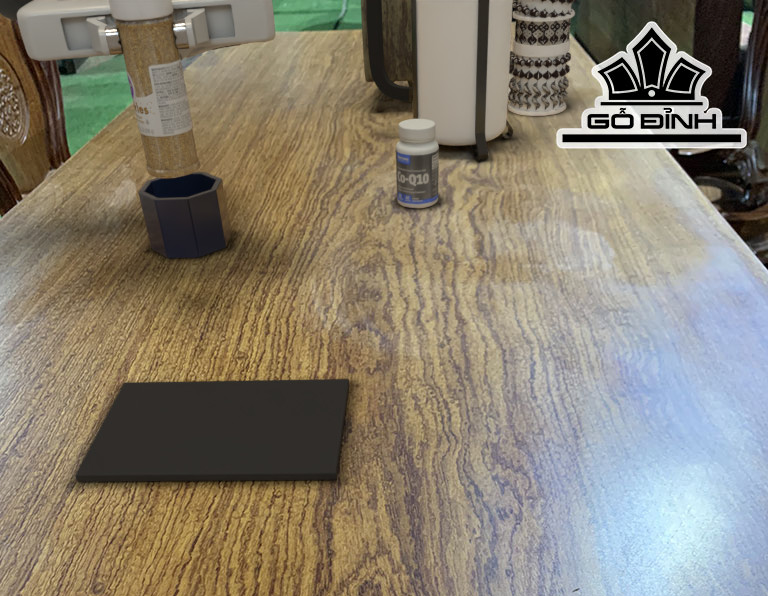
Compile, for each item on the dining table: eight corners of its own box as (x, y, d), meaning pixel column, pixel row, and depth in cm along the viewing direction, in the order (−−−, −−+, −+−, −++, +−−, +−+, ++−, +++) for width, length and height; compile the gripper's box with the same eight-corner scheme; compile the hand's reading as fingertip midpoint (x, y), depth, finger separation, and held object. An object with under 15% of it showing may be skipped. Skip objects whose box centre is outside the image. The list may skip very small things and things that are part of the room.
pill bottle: (392, 207, 93) (389, 128, 88) (403, 192, 97) (401, 116, 91) (432, 210, 92) (432, 130, 86) (443, 195, 95) (443, 117, 90)
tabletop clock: (376, 89, 132) (367, -105, 116) (432, 88, 131) (432, -108, 115) (366, 115, 121) (355, -95, 105) (428, 114, 120) (426, -99, 104)
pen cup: (145, 259, 85) (131, 200, 81) (164, 228, 91) (152, 173, 87) (221, 257, 85) (211, 198, 81) (235, 226, 91) (226, 170, 87)
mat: (77, 482, 57) (74, 475, 57) (125, 388, 66) (123, 382, 66) (336, 480, 56) (335, 473, 56) (349, 385, 65) (348, 378, 65)
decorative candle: (550, 120, 116) (568, -102, 99) (493, 111, 120) (501, -103, 104) (580, 104, 121) (602, -109, 105) (524, 96, 125) (537, -110, 109)
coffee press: (490, 120, 117) (500, -152, 97) (534, 154, 105) (556, -148, 85) (371, 136, 114) (356, -142, 94) (403, 172, 102) (394, -137, 82)
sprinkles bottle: (139, 170, 70) (96, -15, 62) (188, 158, 72) (153, -23, 63) (161, 184, 67) (119, -8, 59) (211, 171, 69) (178, -17, 61)
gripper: (19, -26, 70) (-9, 2, 59) (261, -44, 72) (274, -20, 62) (42, 57, 74) (20, 97, 64) (270, 37, 76) (284, 73, 66)
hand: (148, 39), depth 63 cm, fingers closed on sprinkles bottle, 4 cm apart
